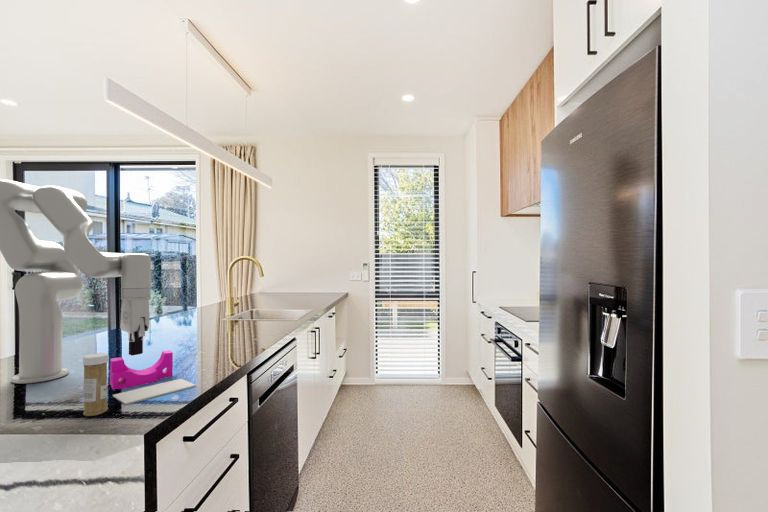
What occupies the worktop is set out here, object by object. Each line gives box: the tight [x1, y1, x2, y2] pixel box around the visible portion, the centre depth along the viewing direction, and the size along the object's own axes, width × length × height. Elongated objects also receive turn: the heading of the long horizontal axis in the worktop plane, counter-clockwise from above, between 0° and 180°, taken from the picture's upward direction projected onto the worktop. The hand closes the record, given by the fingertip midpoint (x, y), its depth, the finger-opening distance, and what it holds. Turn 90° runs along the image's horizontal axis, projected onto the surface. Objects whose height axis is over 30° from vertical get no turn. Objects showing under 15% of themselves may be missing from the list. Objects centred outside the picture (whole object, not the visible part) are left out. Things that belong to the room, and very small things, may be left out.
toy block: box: [109, 350, 174, 391], centre depth 109 cm, size 15×6×8 cm, turn 132°
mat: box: [112, 378, 197, 406], centre depth 101 cm, size 9×17×1 cm, turn 142°
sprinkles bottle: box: [82, 352, 109, 417], centre depth 87 cm, size 5×5×14 cm
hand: (135, 354), depth 114 cm, fingers closed
